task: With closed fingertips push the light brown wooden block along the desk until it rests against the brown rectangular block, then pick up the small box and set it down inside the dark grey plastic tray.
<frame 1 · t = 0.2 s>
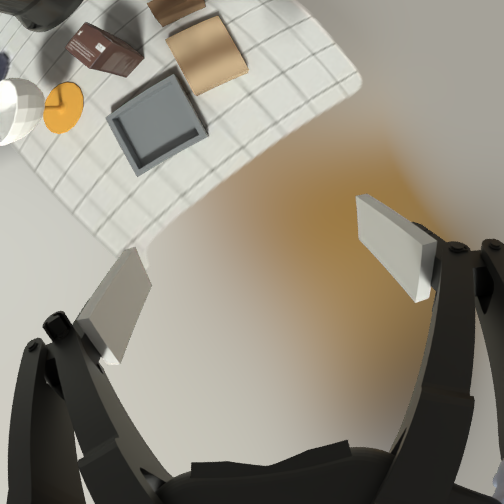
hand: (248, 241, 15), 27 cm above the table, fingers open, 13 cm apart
brown rectangular block: (180, 10, 27), on the table
box: (124, 59, 30), on the table
light brown wooden block: (207, 57, 31), on the table
tray: (158, 125, 35), on the table
cup: (63, 107, 32), on the table
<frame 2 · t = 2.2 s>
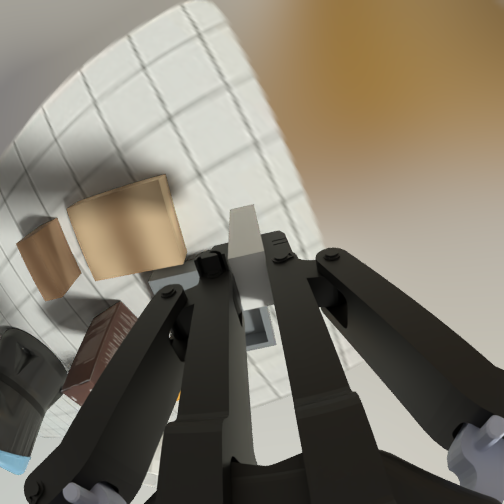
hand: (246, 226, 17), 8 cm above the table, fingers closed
brown rectangular block: (60, 249, 25), on the table
box: (119, 320, 30), on the table
light brown wooden block: (131, 224, 26), on the table
tray: (217, 303, 30), on the table
cup: (161, 383, 36), on the table
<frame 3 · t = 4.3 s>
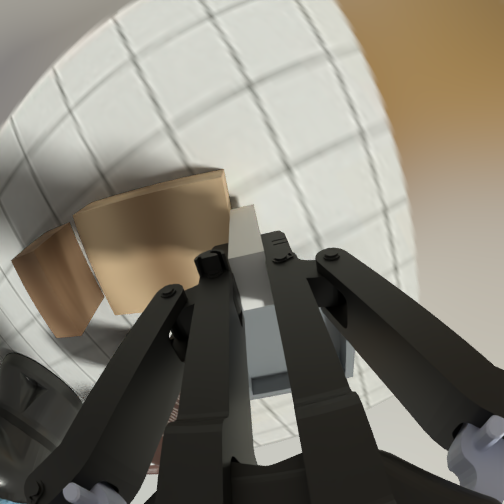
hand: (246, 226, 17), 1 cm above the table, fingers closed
brown rectangular block: (73, 265, 19), on the table
box: (154, 353, 24), on the table
light brown wooden block: (166, 238, 19), on the table, touching gripper
tray: (288, 333, 23), on the table
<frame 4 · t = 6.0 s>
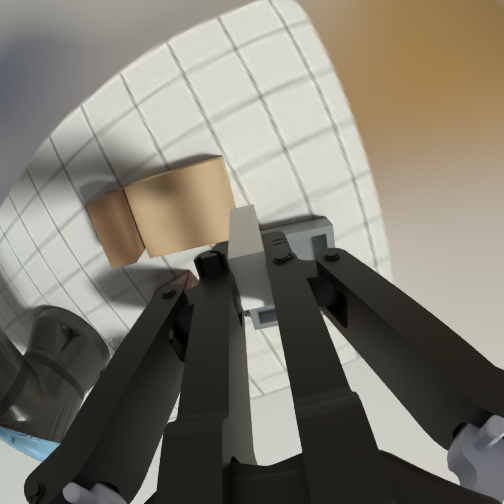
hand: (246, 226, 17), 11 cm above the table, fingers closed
brown rectangular block: (128, 217, 28), on the table
box: (183, 291, 33), on the table
light brown wooden block: (186, 203, 28), on the table
tray: (287, 271, 32), on the table
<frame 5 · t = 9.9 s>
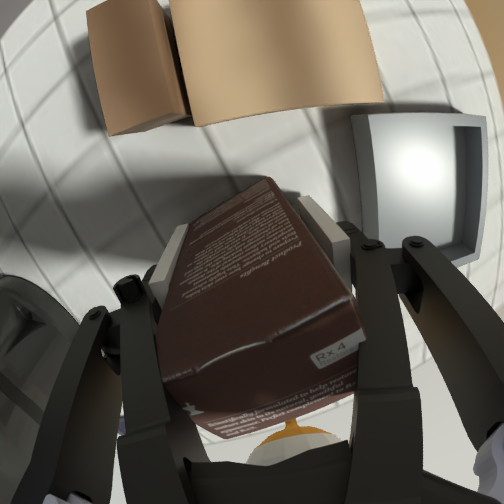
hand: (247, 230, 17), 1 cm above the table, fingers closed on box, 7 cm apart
brown rectangular block: (154, 71, 12), on the table
box: (247, 226, 17), on the table, touching gripper
light brown wooden block: (272, 50, 13), on the table
tray: (422, 191, 17), on the table
cup: (279, 359, 23), on the table
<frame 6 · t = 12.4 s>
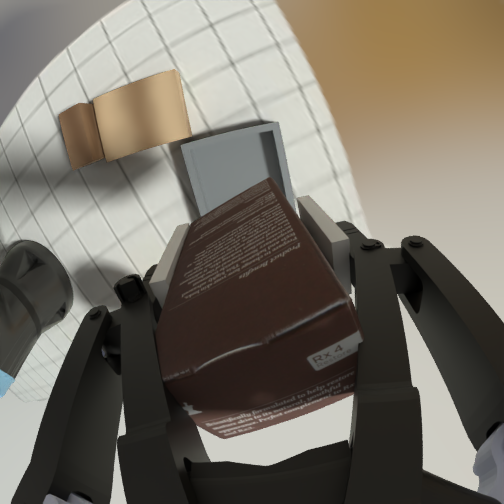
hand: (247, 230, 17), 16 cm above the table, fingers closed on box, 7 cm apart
brown rectangular block: (95, 133, 27), on the table
box: (248, 226, 17), point 15 cm above the table, touching gripper
light brown wooden block: (145, 116, 27), on the table
tray: (240, 179, 31), on the table
when the fingers open (3 cm above the table, at t = 15.0 s): box drops 2 cm, resting on tray.
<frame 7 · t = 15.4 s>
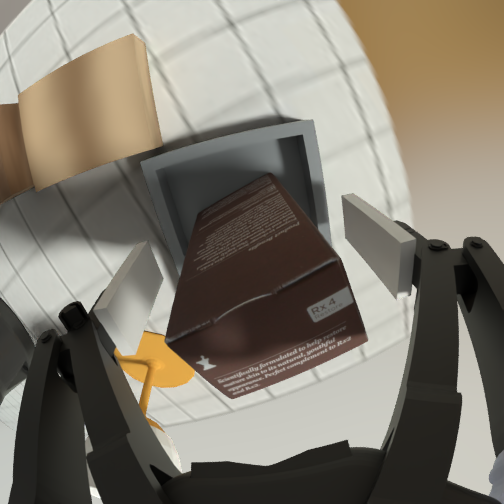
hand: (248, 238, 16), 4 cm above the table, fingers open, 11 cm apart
brown rectangular block: (28, 146, 15), on the table
box: (249, 216, 19), resting on tray
light brown wooden block: (93, 114, 16), on the table
tray: (245, 214, 19), on the table
cup: (154, 360, 26), on the table
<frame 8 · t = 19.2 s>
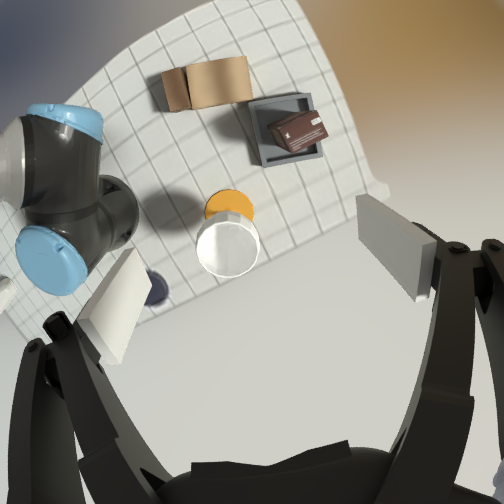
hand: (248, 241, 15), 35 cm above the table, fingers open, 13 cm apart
brown rectangular block: (180, 92, 40), on the table
box: (286, 129, 44), resting on tray
light brown wooden block: (220, 84, 40), on the table
mug: (12, 283, 55), on the table
tray: (284, 129, 44), on the table
cup: (229, 212, 51), on the table
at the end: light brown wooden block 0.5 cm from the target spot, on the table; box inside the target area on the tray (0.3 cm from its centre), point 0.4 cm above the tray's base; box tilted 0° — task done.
